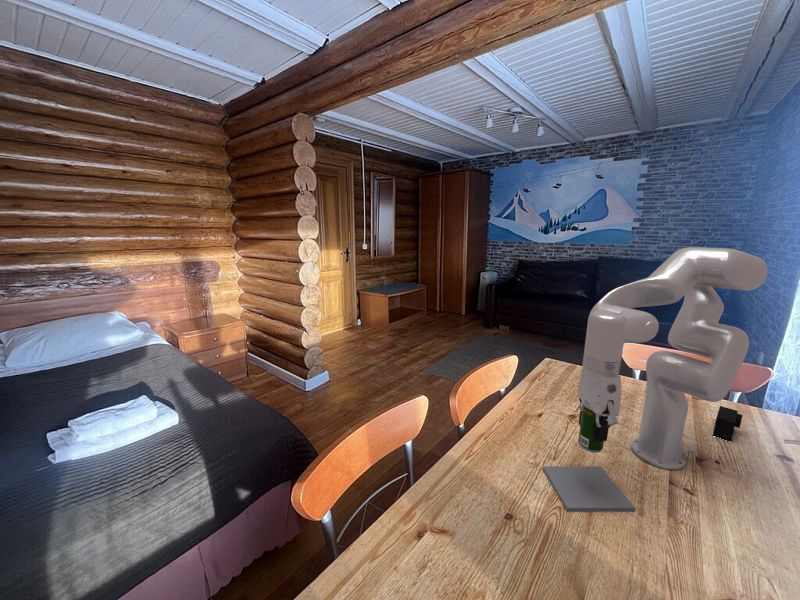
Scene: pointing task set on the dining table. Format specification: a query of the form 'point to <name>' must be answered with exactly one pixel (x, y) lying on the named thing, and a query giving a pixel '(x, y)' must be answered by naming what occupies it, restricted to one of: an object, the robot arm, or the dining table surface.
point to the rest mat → (587, 489)
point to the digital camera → (726, 423)
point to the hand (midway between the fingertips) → (592, 432)
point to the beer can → (589, 430)
